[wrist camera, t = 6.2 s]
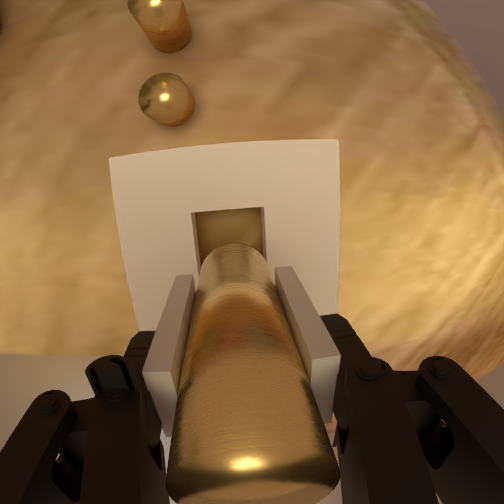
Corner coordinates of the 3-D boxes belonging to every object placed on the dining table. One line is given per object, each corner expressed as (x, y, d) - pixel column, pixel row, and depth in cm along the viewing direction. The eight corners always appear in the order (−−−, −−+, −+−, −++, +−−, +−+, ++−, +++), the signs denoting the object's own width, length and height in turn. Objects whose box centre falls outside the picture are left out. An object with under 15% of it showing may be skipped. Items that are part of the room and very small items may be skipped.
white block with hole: (154, 302, 29) (140, 335, 23) (132, 156, 25) (108, 158, 19) (316, 288, 30) (336, 318, 24) (314, 142, 26) (338, 139, 20)
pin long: (204, 309, 17) (186, 521, 5) (196, 246, 16) (142, 450, 4) (270, 303, 17) (329, 509, 6) (267, 240, 16) (353, 432, 4)
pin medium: (152, 55, 22) (126, 23, 15) (152, 22, 21) (129, -16, 13) (192, 50, 22) (180, 13, 15) (191, 17, 21) (180, -26, 14)
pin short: (154, 128, 24) (139, 123, 20) (153, 89, 23) (137, 77, 18) (195, 123, 25) (189, 116, 20) (193, 84, 23) (186, 69, 19)
